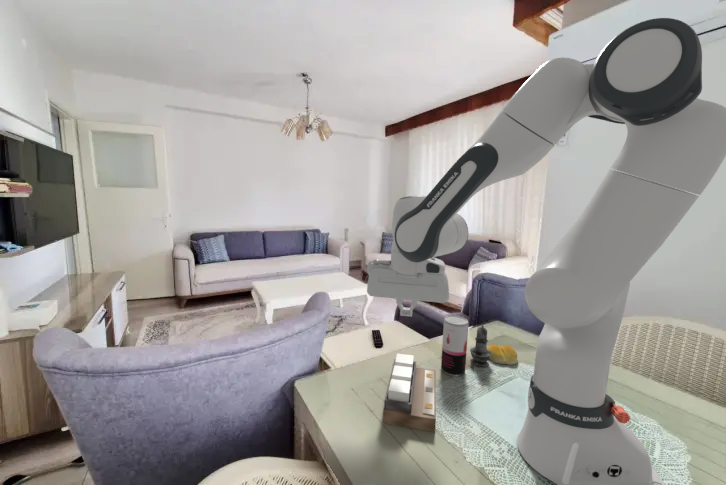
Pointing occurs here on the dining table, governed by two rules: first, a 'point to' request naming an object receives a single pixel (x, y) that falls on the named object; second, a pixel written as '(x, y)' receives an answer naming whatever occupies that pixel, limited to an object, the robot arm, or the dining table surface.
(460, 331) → the beverage can
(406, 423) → the button board
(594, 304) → the robot arm
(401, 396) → the button near
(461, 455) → the dining table surface
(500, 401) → the dining table surface
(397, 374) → the button middle
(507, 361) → the bread roll
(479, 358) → the grey tiered upright piece
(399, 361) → the button far
